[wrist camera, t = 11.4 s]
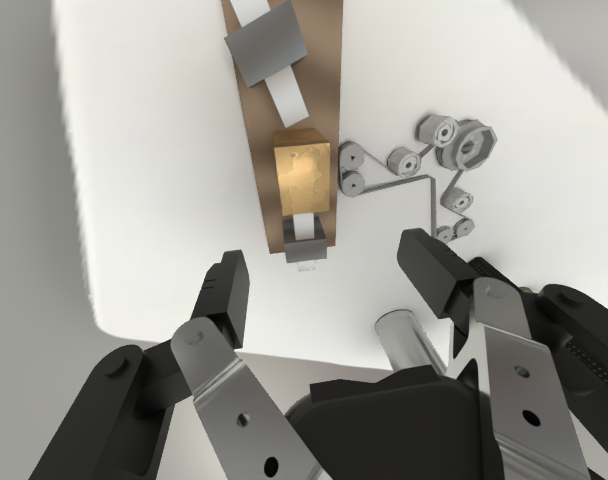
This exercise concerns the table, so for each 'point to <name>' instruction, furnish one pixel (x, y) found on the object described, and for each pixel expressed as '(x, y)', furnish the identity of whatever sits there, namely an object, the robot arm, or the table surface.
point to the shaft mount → (288, 104)
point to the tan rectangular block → (302, 170)
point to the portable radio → (572, 345)
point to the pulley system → (450, 151)
